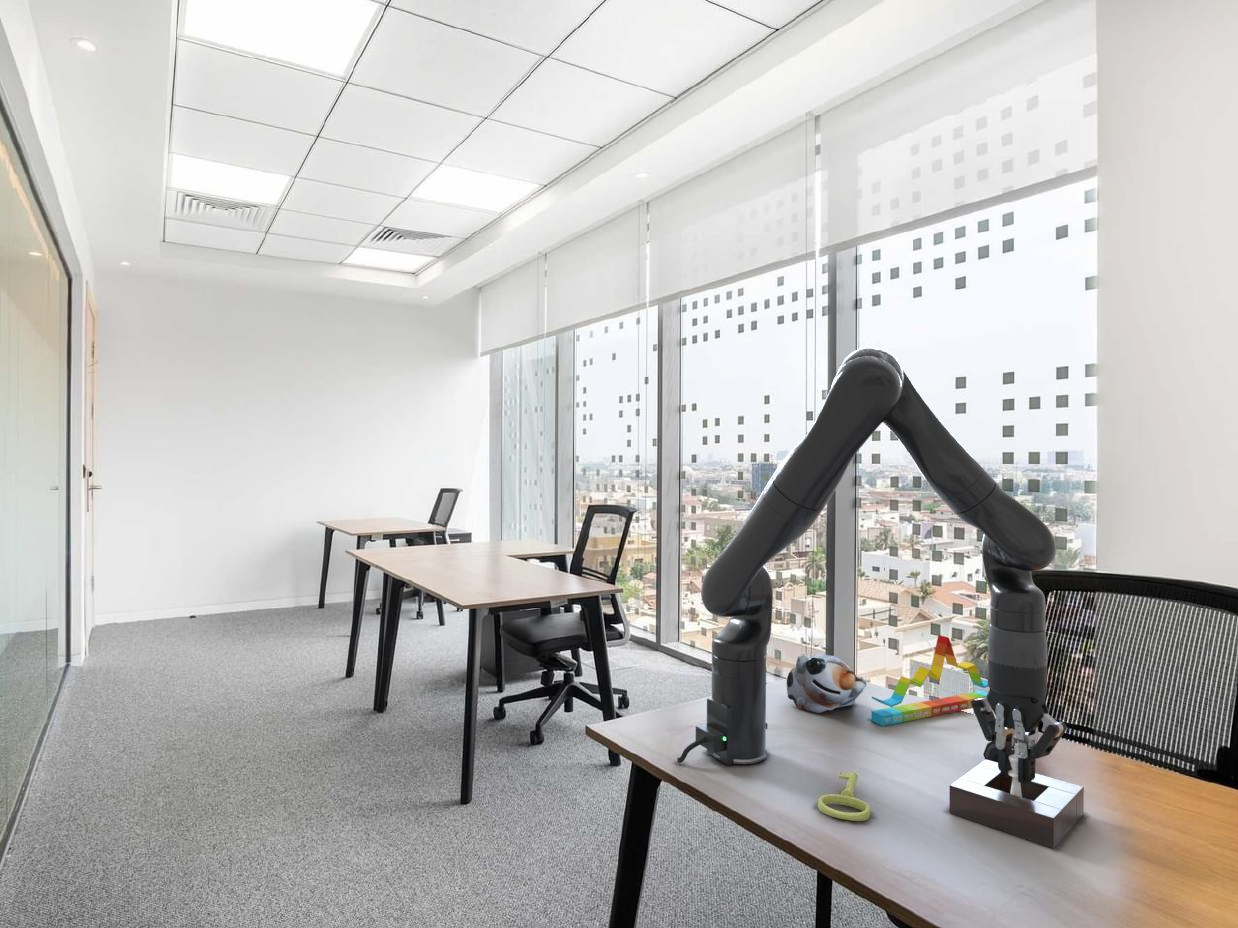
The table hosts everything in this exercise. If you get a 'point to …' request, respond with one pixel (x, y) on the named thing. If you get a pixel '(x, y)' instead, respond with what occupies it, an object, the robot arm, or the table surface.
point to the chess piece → (1015, 772)
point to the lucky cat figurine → (823, 683)
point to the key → (845, 801)
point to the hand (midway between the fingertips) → (1016, 777)
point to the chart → (930, 706)
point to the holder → (1018, 804)
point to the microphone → (993, 751)
